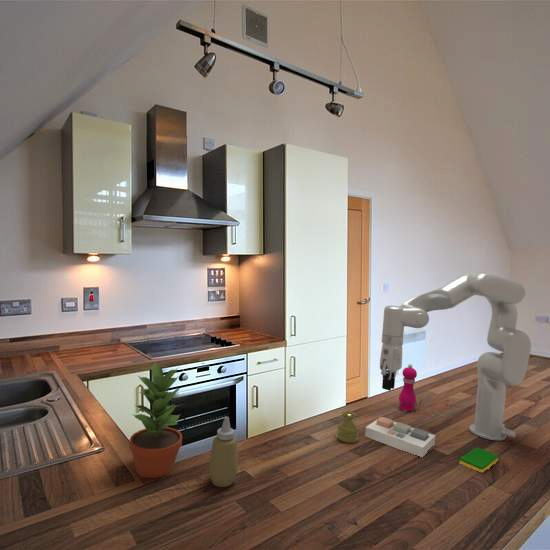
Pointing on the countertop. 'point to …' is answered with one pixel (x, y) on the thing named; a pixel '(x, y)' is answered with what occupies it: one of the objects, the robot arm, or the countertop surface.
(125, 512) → the countertop surface
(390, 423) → the terracotta key
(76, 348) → the countertop surface
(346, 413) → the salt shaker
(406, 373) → the pepper mill
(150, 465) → the potted plant
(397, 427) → the sage key
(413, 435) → the charcoal key
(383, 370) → the robot arm
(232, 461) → the squeeze bottle
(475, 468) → the dish sponge
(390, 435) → the key pad
